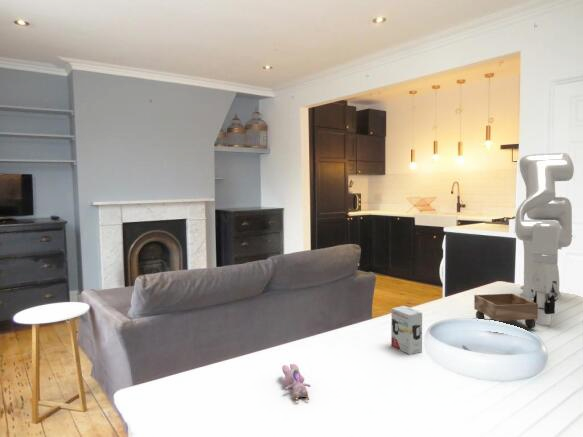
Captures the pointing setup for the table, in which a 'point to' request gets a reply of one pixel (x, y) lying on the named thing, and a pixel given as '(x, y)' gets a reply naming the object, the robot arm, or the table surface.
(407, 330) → the ink box
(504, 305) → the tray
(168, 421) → the table surface
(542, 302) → the tube
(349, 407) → the table surface
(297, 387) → the rabbit figure
